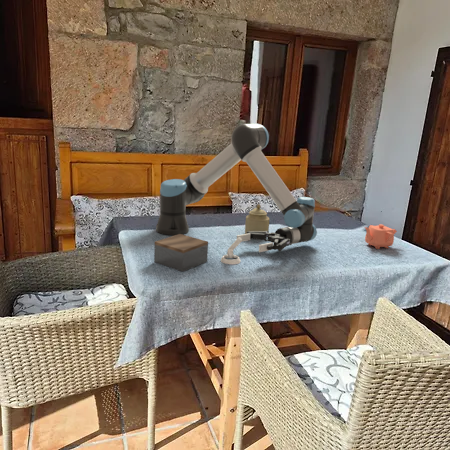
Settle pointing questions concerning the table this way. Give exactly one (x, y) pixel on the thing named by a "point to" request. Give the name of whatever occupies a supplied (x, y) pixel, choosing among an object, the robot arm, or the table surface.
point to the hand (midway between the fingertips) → (248, 243)
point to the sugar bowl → (257, 220)
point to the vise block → (180, 252)
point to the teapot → (379, 236)
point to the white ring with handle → (230, 254)
